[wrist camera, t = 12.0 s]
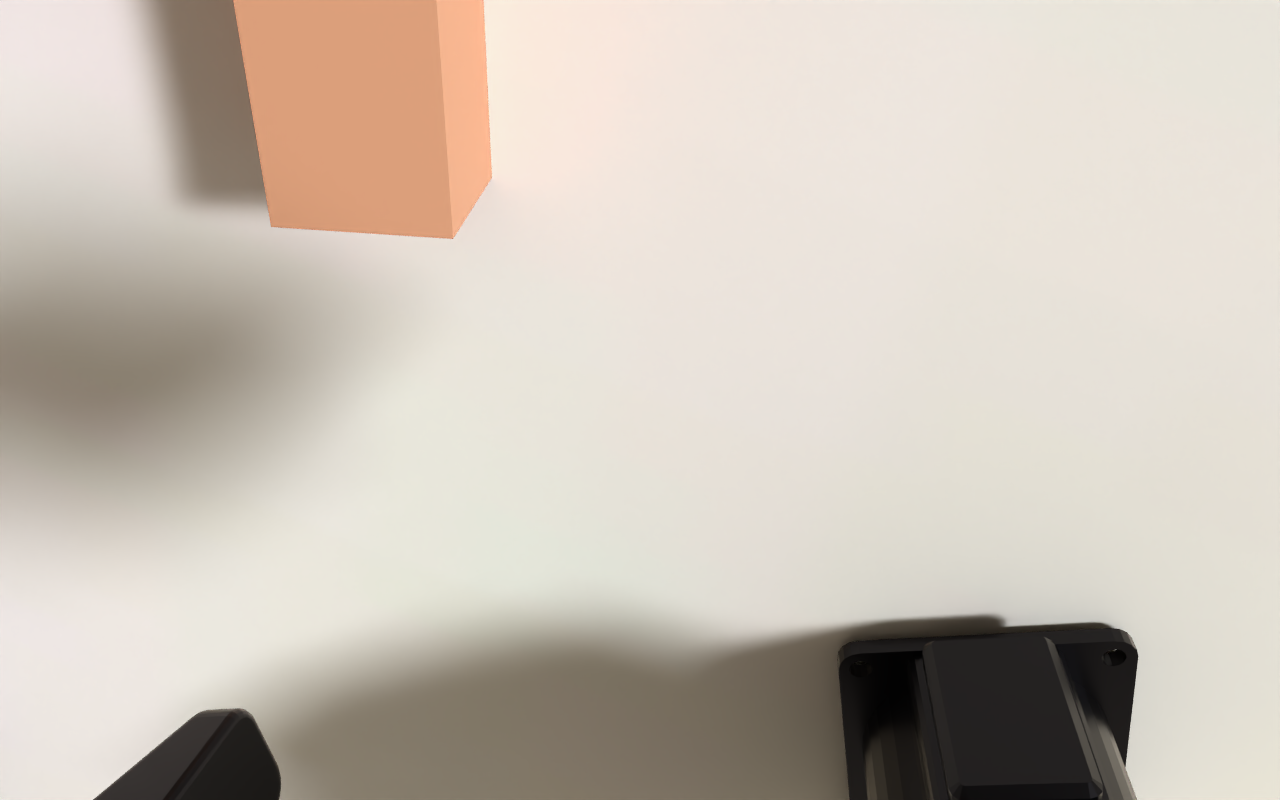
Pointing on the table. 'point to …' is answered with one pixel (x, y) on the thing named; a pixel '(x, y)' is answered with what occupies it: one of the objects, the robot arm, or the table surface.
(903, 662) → the robot arm
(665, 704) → the table surface
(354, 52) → the salmon orange bar
